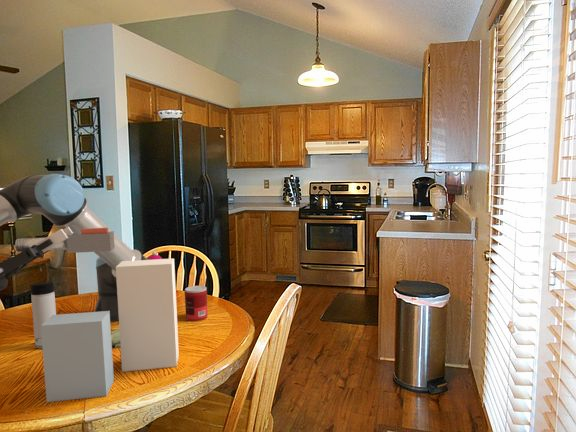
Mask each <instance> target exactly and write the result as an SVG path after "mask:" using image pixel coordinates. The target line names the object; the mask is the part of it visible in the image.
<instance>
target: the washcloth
mask: <svg viewBox="0 0 576 432" xmlns="http://www.w3.org/2000/svg"><path fill="white" fill-rule="evenodd" d="M111 342H112V347H113V346H114V347H115V349H121V346H120V329H119V328H117V329H115V330H113V331H111Z"/></svg>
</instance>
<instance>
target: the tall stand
mask: <svg viewBox="0 0 576 432" xmlns="http://www.w3.org/2000/svg"><path fill="white" fill-rule="evenodd" d="M175 267H176V266H175V258H173V257H172V258H162V259H154V260H136V261H122V262H121V263H120V264H118V265H117V266H116V280H117V297H118V313H119V320H118V325H119V327H118V329H120V346H121V347H120V359H121V360H120V361H121V372H133V371H142V370H155V369H166V368H173V367H175V368H177V366H178V362H179V357H180V356H179V355H180V353H179V351H180V350H179V332H178V331H179V330H178V329H179V328H178V312H177V308H178V307H177V292H176V291H177V290H176V270H175Z"/></svg>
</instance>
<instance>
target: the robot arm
mask: <svg viewBox="0 0 576 432" xmlns="http://www.w3.org/2000/svg"><path fill="white" fill-rule="evenodd" d="M29 215H42V216H44V217H45V218H46V219H48V220H49V221H50V222H51V223H52V224H53V225H54V226H56V227H65V228H64V229H63V228H60V229H59V230H56V231H54V232H53V233H51V234H50V235H48V236H46V237H44V238H45V239H43V240H42V241H40V242H38V243H37V245H38V246H37V245H33V246H32V247H28V248H27V249H26V250H24V251H22V252H18V253H17V254H16V255H14V256H11V257H10V258H7V259H6V260H3V261H1V262H0V292H1V291H3V290H4V289H6V288H7V287H8V284H9V281H8V278H11V277H12V276H14V275H16V274H18V272H19V271H20V270H22V269H24V268H26V267H27V266H28V265H29V264H30V263H32V262H33V261H35V260H37V259H38V258H42V257H44V255H45V254H46V253H48V252H51V251H52V250H49V249H51V248H52V247H54V246H56V245H57V244H59V243H61V242H62V241H64V240H66V239H67V238H68V237H67V235H69V234H71V233H81V229H84V228H108V232H112V231H113V230H111V229H110V228H109V227H108V226H107V225H106V224H105V223H104V222H103V221H102V220H101V219H100V218H99V217H98V216H97V215H96V214H95V213H94V212H93V211H92V210H91V209H90V208H89V207H88V199H86V197H85V195H84V189H83V186H82V185H81V184H80V182H79V181H77V180H76V179H75V178H73V177H71V176H69V175H65V174H60V173H50V174H34V175H26V176H24V177H21V178H20V179H17V180H15V181H14V182H12V183H10V184H8V185H7V186H4V187H3V188H2V189H0V227H1V226H3V225H4V224H6V223H8V222H12V223H13V222H17V221H18V220H19V219H21V218H24V217H26V216H29ZM114 246H115V248H114V249H113V250H111V251H100V252H93V253H94V254H95V255H97V258H96V261H95V262H96V264H95V269H96V283H97V295H98V297H97V300H96V304H95V308H94V311H93V312H101V311H110V322H115V321H119V313H118V297H117V280H116V266H117V265H118V264H120V263H121V262H122V261H136V260H148V257H146V256H145V255H144V254H143V253H142V252H141V251H139V250H138V249H131V248H130V247H129V246H128V245H127V244H126V243H124V241H123V240H122V239H121V238H120V237H119V236H118V235H117V234H116V233H114Z"/></svg>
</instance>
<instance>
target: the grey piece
mask: <svg viewBox="0 0 576 432" xmlns="http://www.w3.org/2000/svg"><path fill="white" fill-rule="evenodd" d="M108 228H109V227H108ZM108 228H84V229H81V233H71V234H69V235H67V237H68V238H67V239H66V240H64V241H62V242H61V243H59V244H57V245H56V246H54V247H52V248H51V249H49V250H51V251H61V250H65V251H67V253H68V254H75V253H76V254H77V253H94V252H100V251H111V250H113V249H114V248H115V246H114V234H115V232H114V231H113V230H111V231H112V232H108ZM45 238H46V237H28V238H27V237H26V238H25V237H23V238H17V239H16V240H15V244H14V245H15V247H14V248H15V250H16V252H18V253H21V252H22V251H24V250H26V249H27V248H28V247H32V246H33V245H37V243H38V242H40V241H42V240H43V239H45ZM37 246H38V245H37Z"/></svg>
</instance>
